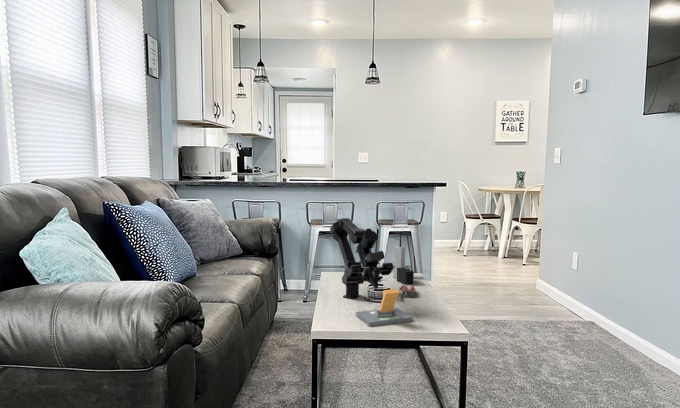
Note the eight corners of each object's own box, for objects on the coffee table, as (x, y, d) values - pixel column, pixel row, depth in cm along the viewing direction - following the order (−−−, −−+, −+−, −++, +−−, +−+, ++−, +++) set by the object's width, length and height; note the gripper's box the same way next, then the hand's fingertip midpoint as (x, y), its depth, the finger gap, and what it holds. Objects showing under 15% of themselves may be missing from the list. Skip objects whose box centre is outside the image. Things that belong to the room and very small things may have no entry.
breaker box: (355, 315, 175) (355, 304, 175) (396, 311, 181) (396, 300, 181) (369, 326, 163) (369, 314, 162) (412, 321, 169) (412, 309, 169)
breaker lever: (377, 312, 171) (383, 290, 165) (390, 311, 173) (396, 289, 167) (379, 316, 169) (385, 293, 164) (392, 315, 171) (399, 292, 166)
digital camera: (415, 284, 225) (416, 271, 225) (406, 285, 223) (406, 271, 223) (406, 280, 235) (406, 267, 235) (396, 280, 233) (397, 267, 233)
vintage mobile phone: (396, 276, 243) (397, 230, 241) (404, 277, 240) (405, 231, 238) (393, 277, 240) (393, 231, 238) (400, 279, 237) (401, 232, 235)
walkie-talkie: (395, 290, 215) (398, 302, 195) (395, 281, 214) (398, 292, 194) (414, 291, 214) (418, 303, 194) (414, 282, 214) (419, 293, 194)
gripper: (350, 245, 178) (360, 279, 168) (392, 243, 184) (404, 275, 175) (343, 261, 186) (352, 294, 176) (383, 258, 192) (395, 290, 183)
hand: (376, 288), depth 177 cm, fingers closed
